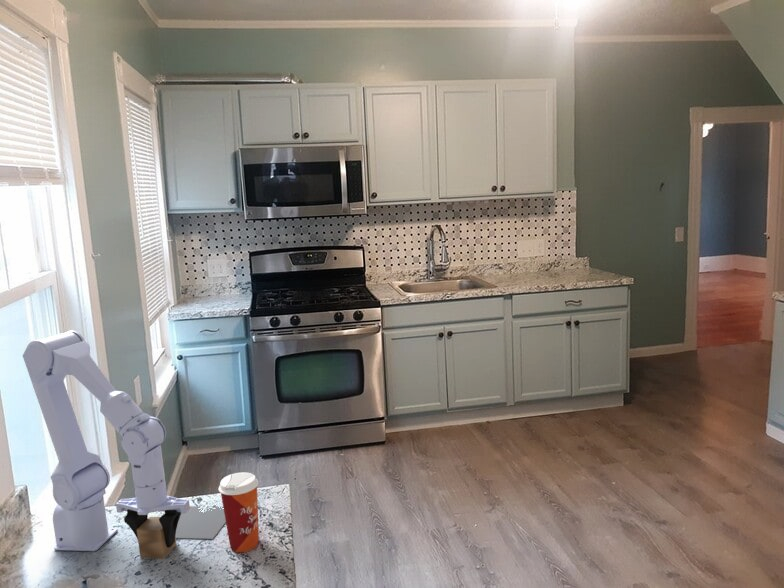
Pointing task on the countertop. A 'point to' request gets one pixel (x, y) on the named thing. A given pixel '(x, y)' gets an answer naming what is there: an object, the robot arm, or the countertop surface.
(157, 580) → the countertop surface
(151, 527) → the walnut block
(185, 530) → the slate mat
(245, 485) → the paper cup
